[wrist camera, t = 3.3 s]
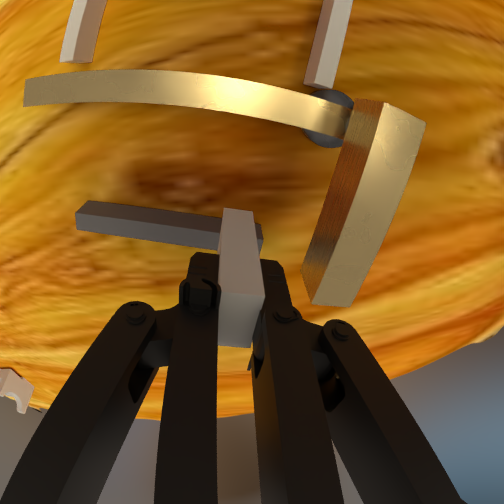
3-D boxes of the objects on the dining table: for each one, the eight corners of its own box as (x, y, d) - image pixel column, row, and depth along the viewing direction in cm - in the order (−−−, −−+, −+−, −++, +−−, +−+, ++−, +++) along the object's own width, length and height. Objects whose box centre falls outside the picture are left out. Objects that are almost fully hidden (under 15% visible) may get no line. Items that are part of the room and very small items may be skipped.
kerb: (260, 224, 23) (263, 239, 21) (256, 240, 24) (259, 256, 22) (88, 200, 21) (75, 212, 18) (89, 216, 21) (76, 229, 19)
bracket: (12, 365, 36) (-1, 393, 29) (35, 386, 39) (24, 413, 33) (-9, 366, 37) (-20, 390, 31) (11, 384, 41) (2, 408, 35)
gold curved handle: (352, 105, 17) (426, 122, 9) (313, 231, 22) (349, 307, 15) (66, 69, 13) (-15, 74, 6) (61, 195, 19) (-1, 252, 11)
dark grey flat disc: (359, 100, 18) (365, 101, 17) (345, 151, 20) (350, 154, 19) (306, 82, 17) (309, 81, 16) (292, 137, 19) (294, 139, 18)
